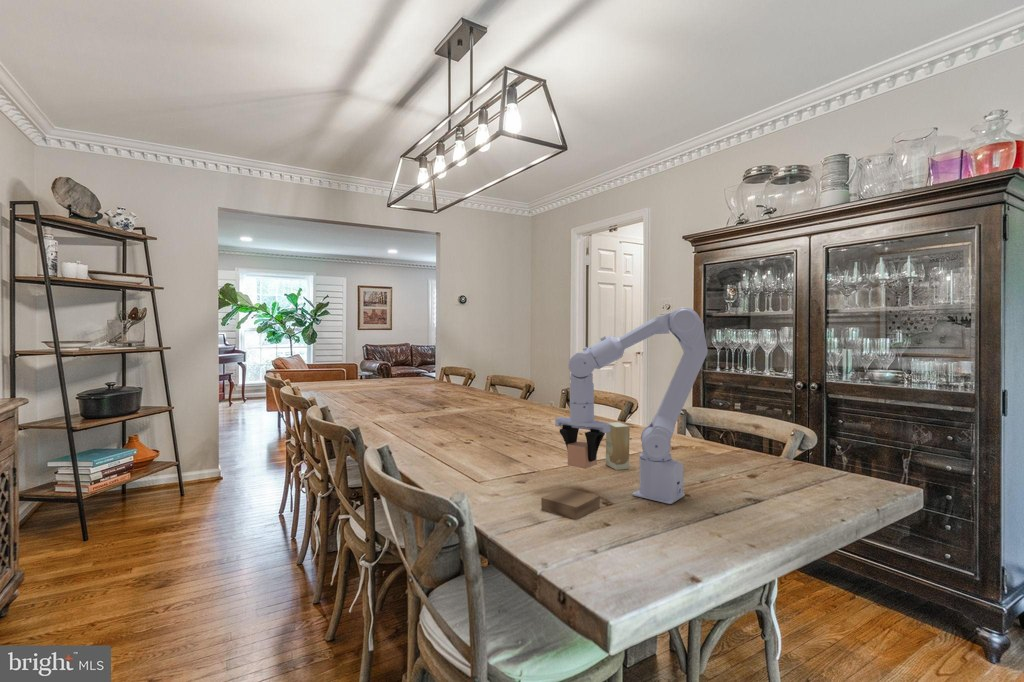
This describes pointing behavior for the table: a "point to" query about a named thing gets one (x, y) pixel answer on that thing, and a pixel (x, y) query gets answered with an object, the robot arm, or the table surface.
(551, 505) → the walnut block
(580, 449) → the terracotta cube
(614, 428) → the skincare box
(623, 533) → the table surface
